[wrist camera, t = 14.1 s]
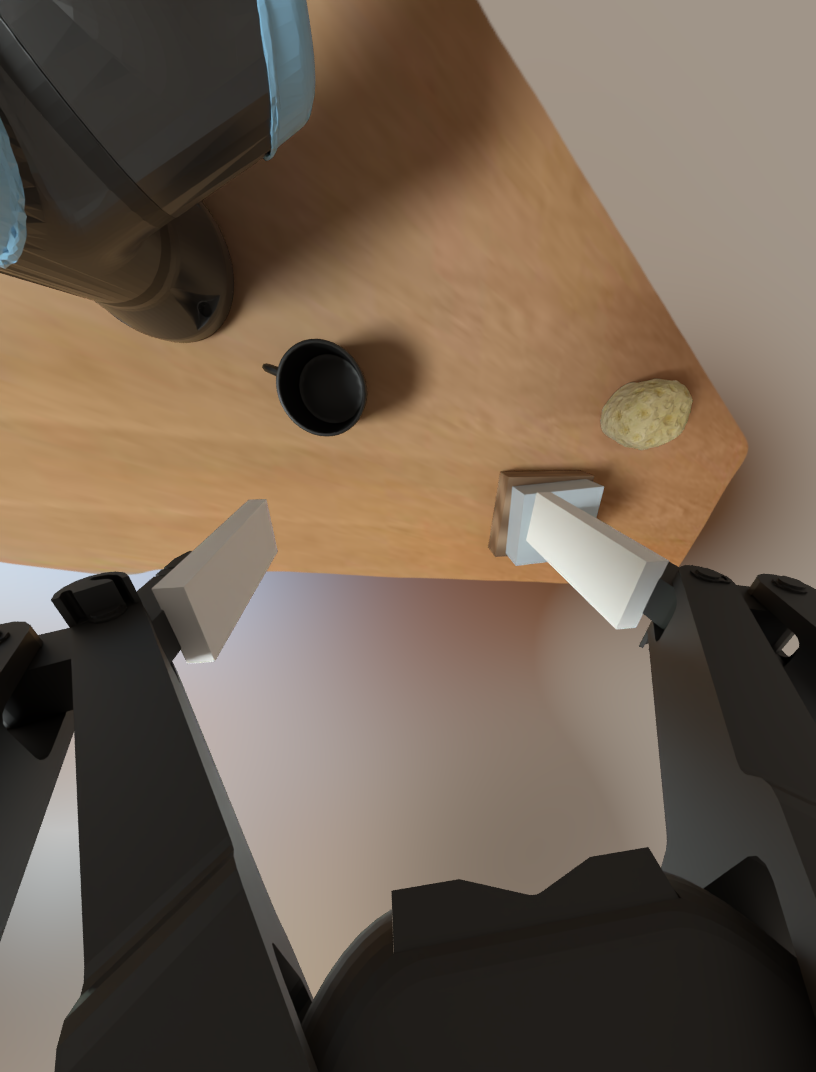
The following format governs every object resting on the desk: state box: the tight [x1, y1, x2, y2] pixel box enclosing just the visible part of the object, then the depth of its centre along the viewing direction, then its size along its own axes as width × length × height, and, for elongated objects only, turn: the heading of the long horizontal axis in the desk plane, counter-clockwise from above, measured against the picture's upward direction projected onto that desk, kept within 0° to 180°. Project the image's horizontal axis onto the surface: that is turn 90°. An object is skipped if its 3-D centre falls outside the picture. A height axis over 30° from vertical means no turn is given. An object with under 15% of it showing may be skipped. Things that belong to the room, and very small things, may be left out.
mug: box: [262, 339, 367, 436], centre depth 35 cm, size 9×12×9 cm
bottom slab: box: [488, 470, 594, 557], centre depth 50 cm, size 14×14×4 cm
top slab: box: [506, 479, 604, 566], centre depth 46 cm, size 12×12×4 cm
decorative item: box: [600, 379, 693, 450], centre depth 42 cm, size 10×10×10 cm
